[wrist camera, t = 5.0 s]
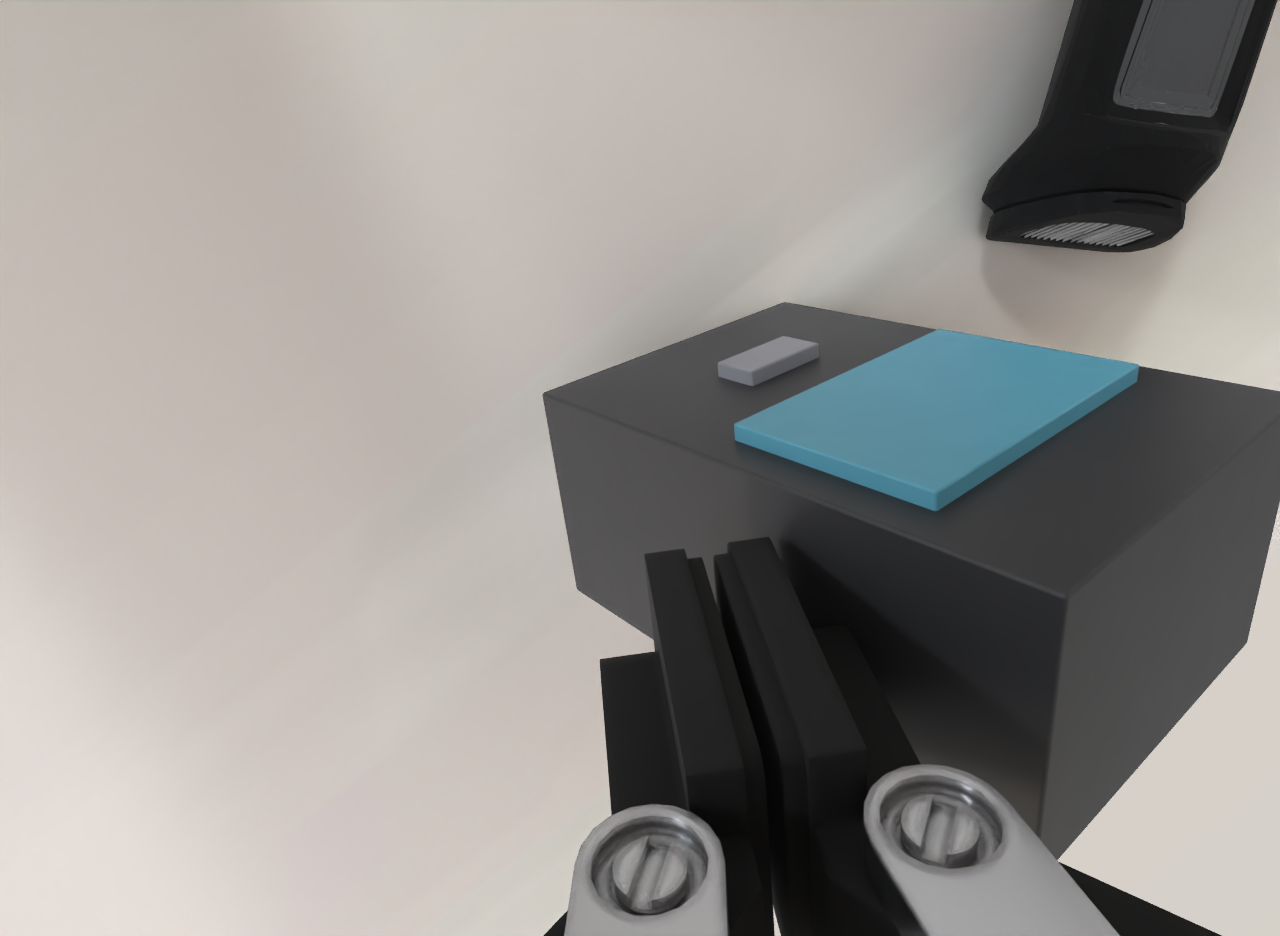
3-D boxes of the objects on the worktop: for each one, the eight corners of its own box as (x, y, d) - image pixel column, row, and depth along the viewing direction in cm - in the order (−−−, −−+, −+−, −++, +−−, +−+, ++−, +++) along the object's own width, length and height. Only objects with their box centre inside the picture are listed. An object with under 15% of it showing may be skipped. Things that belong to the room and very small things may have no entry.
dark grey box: (538, 378, 15) (1069, 574, 8) (783, 288, 18) (1309, 376, 11) (576, 590, 16) (1033, 890, 10) (792, 475, 20) (1247, 643, 13)
